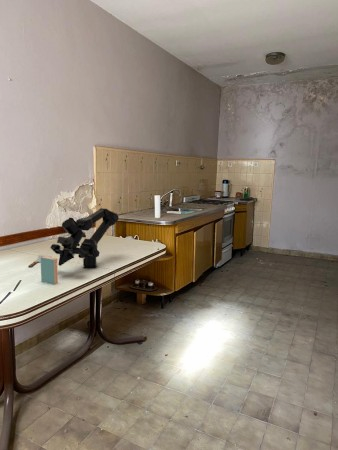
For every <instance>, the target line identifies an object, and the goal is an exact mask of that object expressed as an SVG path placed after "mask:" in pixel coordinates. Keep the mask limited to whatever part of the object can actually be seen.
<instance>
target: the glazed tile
mask: <svg viewBox="0 0 338 450" xmlns="http://www.w3.org/2000/svg"><path fill="white" fill-rule="evenodd" d="M42 256H43V257H41V263H40V275H41V277H40V279H41V282H42V283H45V282H46V284H51V285H57V284H59V277H58V276H59V273H58V258H57V257H53V256H52V257H46V256H47V255H42Z"/></svg>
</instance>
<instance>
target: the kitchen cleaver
mask: <svg viewBox="0 0 338 450" xmlns="http://www.w3.org/2000/svg"><path fill="white" fill-rule="evenodd" d="M43 256H44V255H42V254H41V255H38V256H37V257H38V258H37V259H35V260H34V261H33V262H31V263H30V264H29V265H28V268H30V269H31V268H34V266H36V265H37V264H41V257H43ZM45 256H46V257H52V258H53V256H51V255H45Z"/></svg>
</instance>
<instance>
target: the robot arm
mask: <svg viewBox="0 0 338 450" xmlns="http://www.w3.org/2000/svg"><path fill="white" fill-rule="evenodd" d="M119 218H120V217H119V215H118V214H117V213H116V212H114V211H112V210H110V209H108V208H104V207H103V208H102V207H100V208H99V209H97V211H95V212H93V213H91V214H90V215H88V216H86V217H81V218H78V219H77V220H76V221H75V219H74V218H73V217H68V218H67V219H65V220H64V221H63V222H62V224H61V227H62V228H63V229H64V230H65V232H66V233H67V234H68V235H69V236H67V237H65V236H58V238H57V242H56V243H52V244H51V246H50V250H52V251H53V252H54V254H56V255H59V259H58V262H57V266H60V267H61V266H62V265H64V264H66V263H67V262H69V261H70V260H73V259H75V255H78V258H79V259H82V265H83V266H82V267H83V269H96V268H97V266H98V264H97V258H99V256H100V251H99V250H98V243H99V242H100V241H101V239H102V238H103V237H104V235H105V234H106V232H107V231H108V229H109V228H110V227H112V226H114V225H116V223H117V222H118V221H119ZM101 219H102V222H101V223H100V225H99V226H98V227H97V229H96V230H95V231H94V233H93V234H92V235H91V236H90V238H87V237H86V236H87V235H86V232H85V231H89V230H91V228H93V225H94V224H95V223H96V222H98V221H100V220H101ZM83 238H84V240H83V241H81V240H82V239H83ZM80 242H81V244H80ZM60 244H61V245H60Z"/></svg>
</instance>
